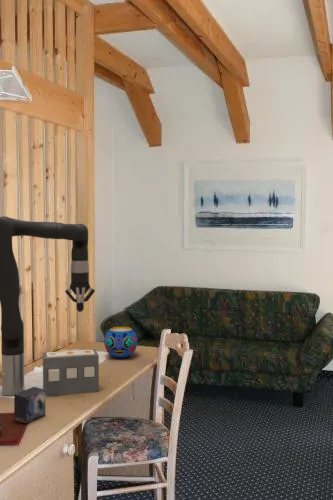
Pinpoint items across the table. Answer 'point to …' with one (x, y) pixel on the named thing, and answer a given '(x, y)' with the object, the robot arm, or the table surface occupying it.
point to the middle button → (71, 372)
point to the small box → (29, 404)
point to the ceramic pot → (120, 342)
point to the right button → (89, 371)
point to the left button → (53, 374)
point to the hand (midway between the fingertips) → (80, 311)
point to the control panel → (67, 361)
